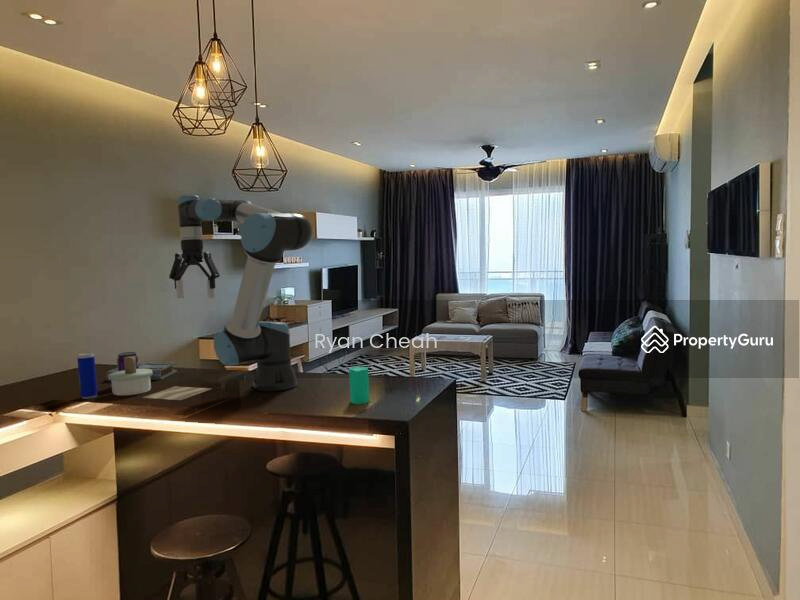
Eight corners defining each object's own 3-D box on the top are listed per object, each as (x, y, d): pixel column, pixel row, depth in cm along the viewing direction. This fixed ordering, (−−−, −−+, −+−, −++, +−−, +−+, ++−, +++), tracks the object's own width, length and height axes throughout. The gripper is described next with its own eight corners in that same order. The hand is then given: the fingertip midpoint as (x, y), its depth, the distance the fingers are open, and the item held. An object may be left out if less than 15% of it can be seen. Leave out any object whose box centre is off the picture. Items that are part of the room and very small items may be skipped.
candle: (346, 402, 185) (344, 364, 184) (358, 398, 190) (356, 360, 189) (361, 404, 182) (360, 365, 181) (373, 400, 187) (371, 362, 186)
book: (106, 382, 230) (105, 370, 229) (127, 373, 246) (126, 361, 246) (160, 381, 229) (159, 368, 229) (177, 372, 246) (176, 360, 245)
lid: (161, 372, 212) (160, 354, 212) (131, 381, 199) (129, 361, 199) (130, 371, 217) (129, 353, 217) (99, 379, 204) (97, 360, 203)
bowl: (158, 389, 212) (157, 373, 212) (132, 398, 201) (131, 380, 201) (131, 388, 216) (130, 371, 216) (105, 396, 205) (103, 379, 205)
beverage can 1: (84, 395, 208) (81, 353, 206) (100, 394, 208) (96, 352, 207) (78, 399, 202) (74, 355, 201) (93, 398, 203) (90, 354, 201)
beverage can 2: (132, 387, 218) (129, 355, 217) (114, 387, 219) (112, 355, 218) (144, 383, 225) (141, 351, 224) (127, 382, 226) (124, 351, 225)
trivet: (212, 390, 208) (212, 388, 208) (180, 402, 193) (180, 400, 193) (175, 388, 213) (175, 386, 213) (141, 399, 198) (141, 397, 198)
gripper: (227, 237, 214) (230, 296, 215) (170, 240, 222) (175, 297, 224) (213, 237, 207) (217, 298, 208) (156, 240, 215) (160, 299, 217)
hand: (195, 298), depth 216 cm, fingers open, 13 cm apart
